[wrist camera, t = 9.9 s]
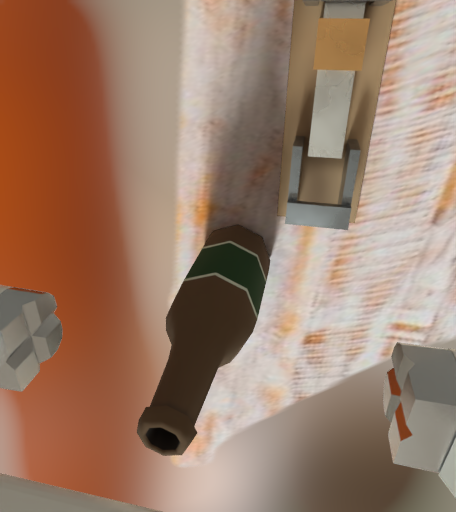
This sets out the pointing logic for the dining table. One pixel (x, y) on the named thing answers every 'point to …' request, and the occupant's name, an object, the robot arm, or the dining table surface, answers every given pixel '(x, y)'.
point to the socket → (374, 0)
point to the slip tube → (336, 74)
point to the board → (302, 100)
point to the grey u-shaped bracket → (322, 212)
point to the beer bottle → (205, 333)
